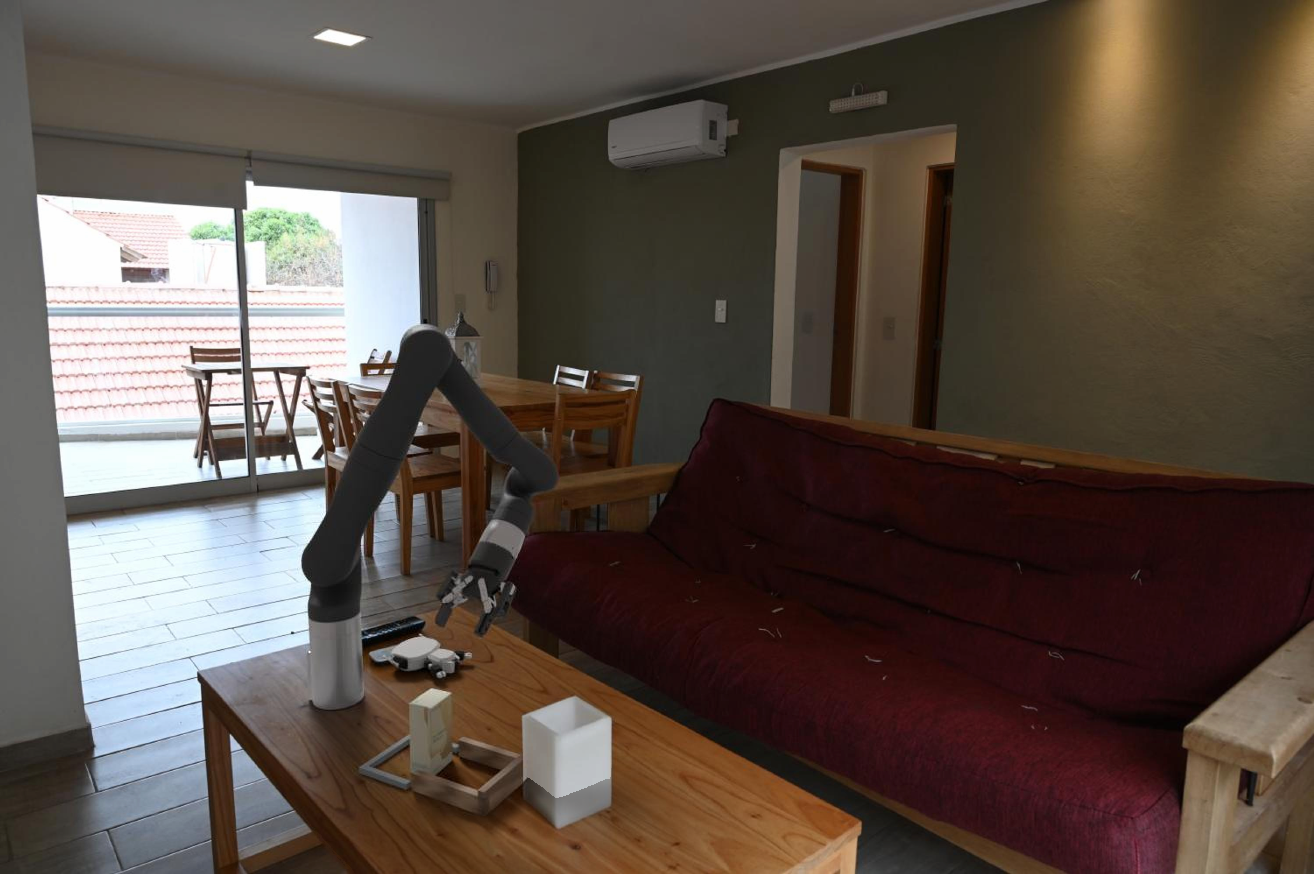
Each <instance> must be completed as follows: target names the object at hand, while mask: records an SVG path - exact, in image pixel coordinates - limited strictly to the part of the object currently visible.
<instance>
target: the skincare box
mask: <svg viewBox="0 0 1314 874" xmlns="http://www.w3.org/2000/svg"><path fill="white" fill-rule="evenodd" d="M452 695H453V694H452V692H449V691H444V690H441V689H436V688H429V689H428V690H426V691H425V692H424V693H422V694H420V695H418V696H417V697H416V698H415V699H414V700H412V701H410V702H409V703H408V711H409V712H408V713H409V714H408V721H409V734H410V744H409V761H410V763H409V769H410V773H411V774H412V773H413V772H415V771H416V770H420V771H423V772H426V773H429V774H432V775H435V776H437V775H438V773H440V772H441V770H443V769H444V768H446V766H447V765H449V764H450V763H451V762H452V761H453V755H454V752H452V743H453V699H452Z"/></svg>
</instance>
